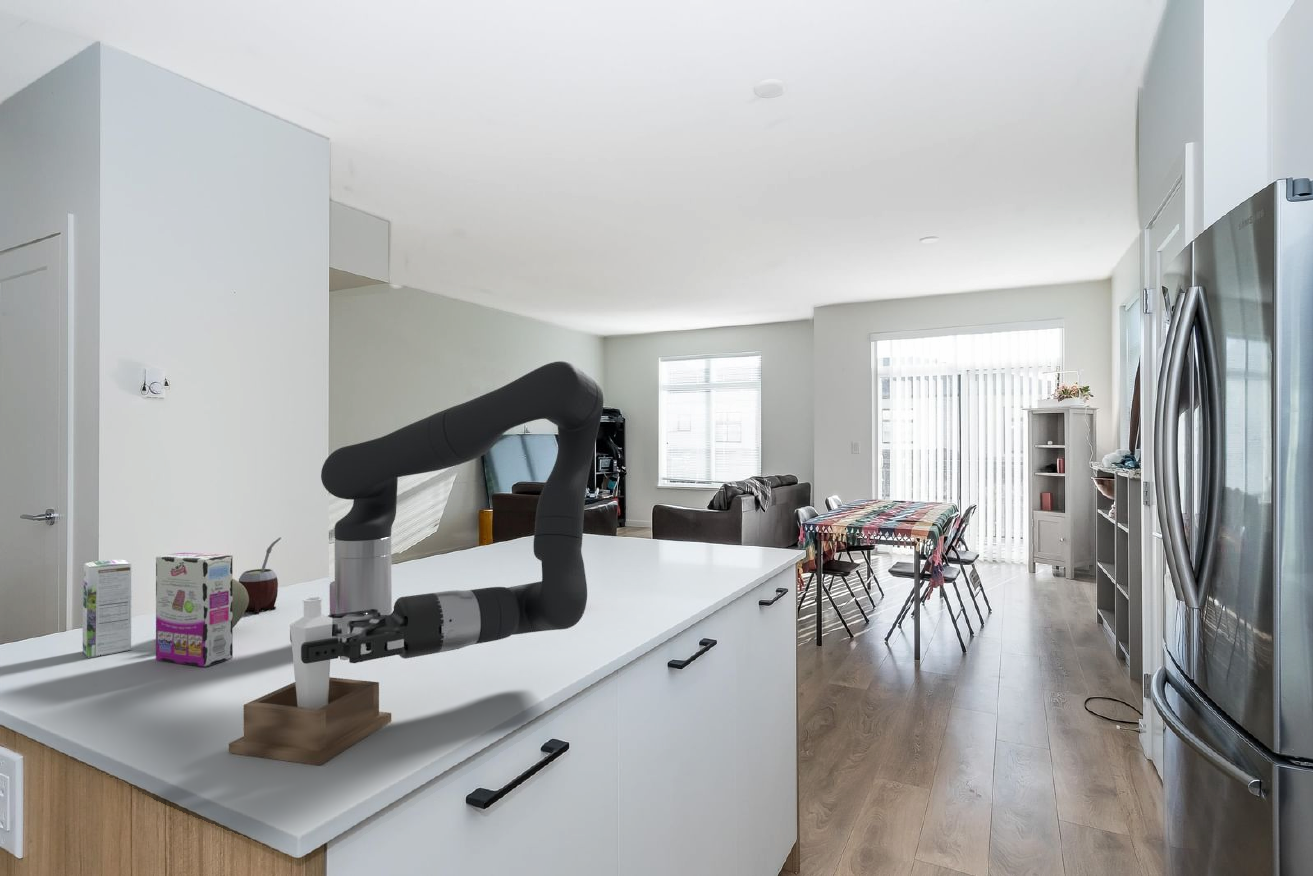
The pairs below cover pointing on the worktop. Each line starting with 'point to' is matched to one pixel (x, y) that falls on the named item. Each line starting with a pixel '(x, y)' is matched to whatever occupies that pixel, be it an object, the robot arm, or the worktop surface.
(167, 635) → the candy bar box
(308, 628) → the perfume bottle
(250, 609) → the mate gourd
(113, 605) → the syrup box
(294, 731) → the holder
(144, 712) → the worktop surface
